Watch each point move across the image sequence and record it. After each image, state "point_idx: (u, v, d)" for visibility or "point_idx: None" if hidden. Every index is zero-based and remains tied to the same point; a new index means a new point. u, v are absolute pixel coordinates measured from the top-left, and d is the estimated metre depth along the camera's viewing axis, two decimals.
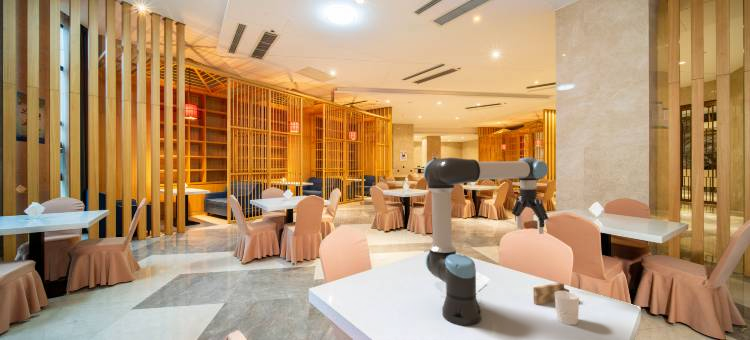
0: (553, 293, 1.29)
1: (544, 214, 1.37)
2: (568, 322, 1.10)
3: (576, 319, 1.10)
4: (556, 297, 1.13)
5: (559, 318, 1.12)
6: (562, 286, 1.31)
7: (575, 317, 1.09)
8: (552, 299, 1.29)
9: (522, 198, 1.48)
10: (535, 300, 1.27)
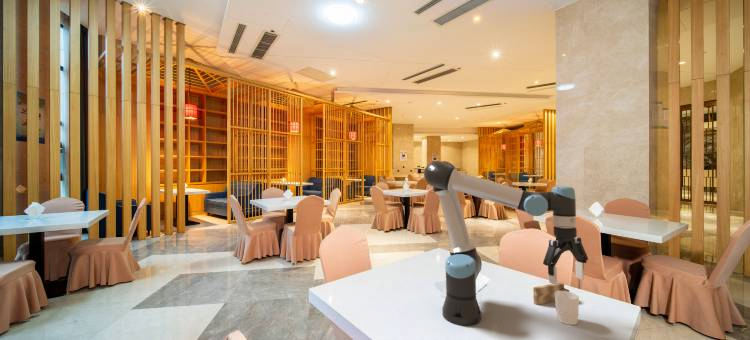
0: (553, 293, 1.29)
1: (546, 259, 1.10)
2: (568, 322, 1.10)
3: (576, 319, 1.10)
4: (556, 297, 1.13)
5: (559, 318, 1.12)
6: (562, 286, 1.31)
7: (575, 317, 1.09)
8: (552, 299, 1.29)
9: None
10: (535, 300, 1.27)
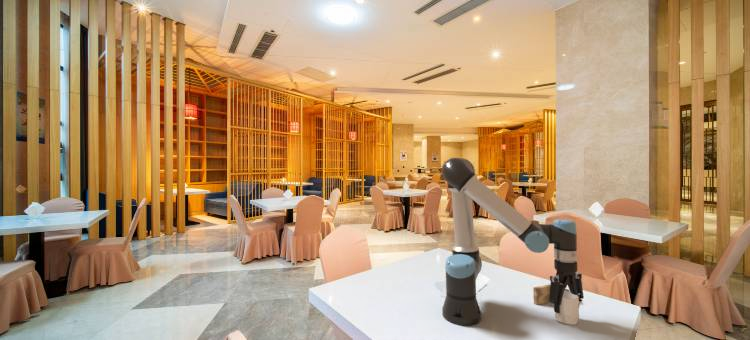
0: None
1: (551, 296, 1.11)
2: (568, 322, 1.10)
3: (576, 319, 1.10)
4: None
5: None
6: None
7: (575, 317, 1.09)
8: None
9: None
10: (535, 300, 1.27)
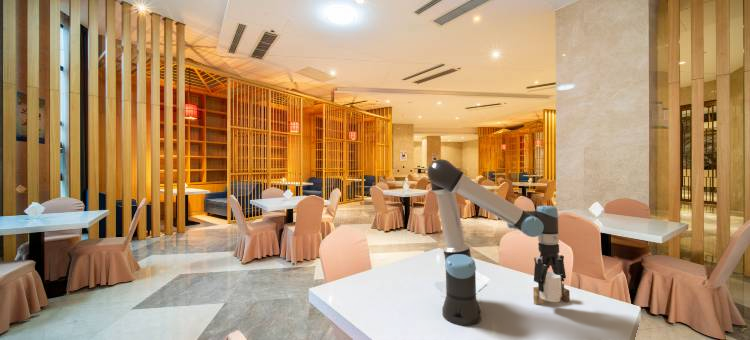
0: None
1: (536, 276, 1.20)
2: (551, 299, 1.19)
3: (559, 297, 1.19)
4: None
5: None
6: (562, 286, 1.31)
7: (558, 295, 1.19)
8: None
9: None
10: (535, 300, 1.27)
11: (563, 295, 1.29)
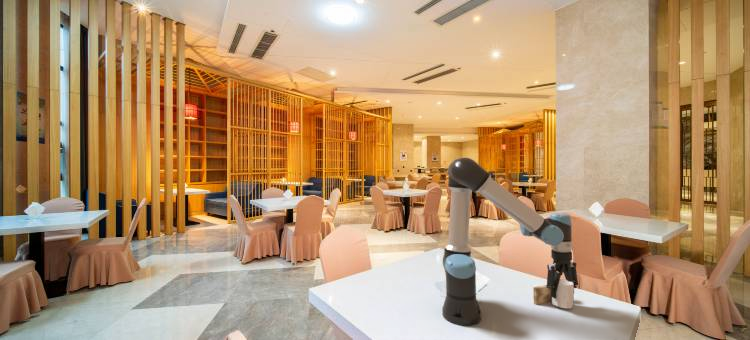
0: None
1: (549, 283, 1.22)
2: (564, 306, 1.21)
3: (571, 303, 1.21)
4: None
5: None
6: None
7: (570, 301, 1.21)
8: None
9: None
10: (535, 300, 1.27)
11: None
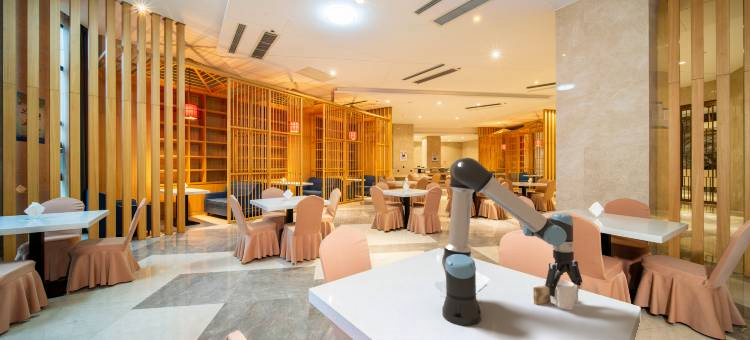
0: None
1: (548, 281, 1.22)
2: (565, 307, 1.21)
3: (572, 304, 1.21)
4: None
5: None
6: None
7: (571, 302, 1.21)
8: None
9: None
10: (535, 300, 1.27)
11: None
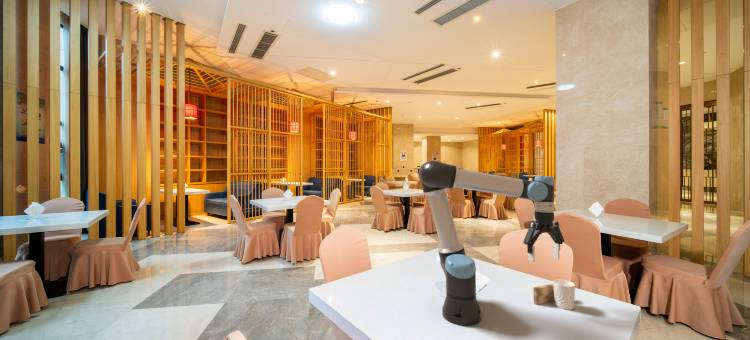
0: (553, 293, 1.29)
1: (526, 238, 1.25)
2: (565, 307, 1.21)
3: (572, 304, 1.21)
4: (554, 285, 1.25)
5: (557, 304, 1.24)
6: None
7: (571, 303, 1.21)
8: (552, 299, 1.29)
9: None
10: (535, 300, 1.27)
11: None
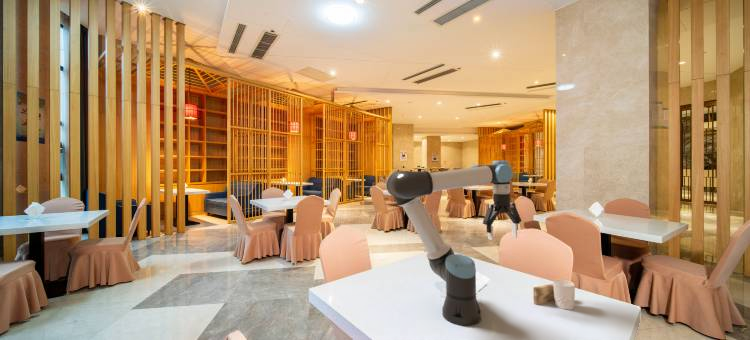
0: (553, 293, 1.29)
1: (485, 219, 1.34)
2: (565, 307, 1.21)
3: (572, 304, 1.21)
4: (554, 285, 1.25)
5: (557, 304, 1.24)
6: None
7: (571, 302, 1.21)
8: (552, 299, 1.29)
9: None
10: (535, 300, 1.27)
11: None
